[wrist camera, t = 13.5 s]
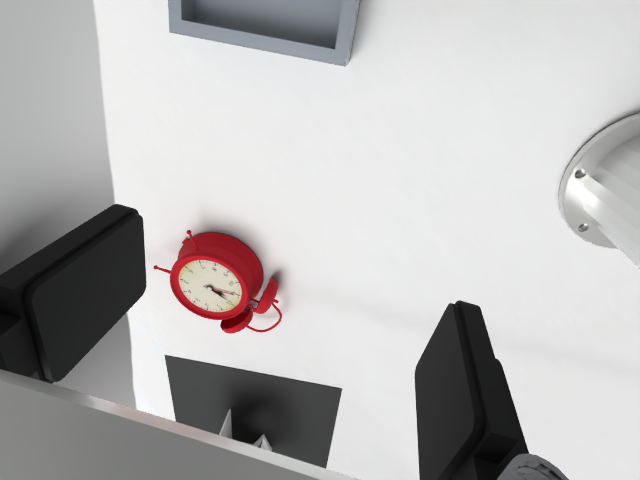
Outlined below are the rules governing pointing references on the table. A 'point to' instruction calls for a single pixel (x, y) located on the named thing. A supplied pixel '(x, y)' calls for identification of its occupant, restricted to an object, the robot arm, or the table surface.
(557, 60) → the table surface
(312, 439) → the black-topped pedestal
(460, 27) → the table surface
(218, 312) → the alarm clock
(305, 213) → the table surface
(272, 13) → the tray
